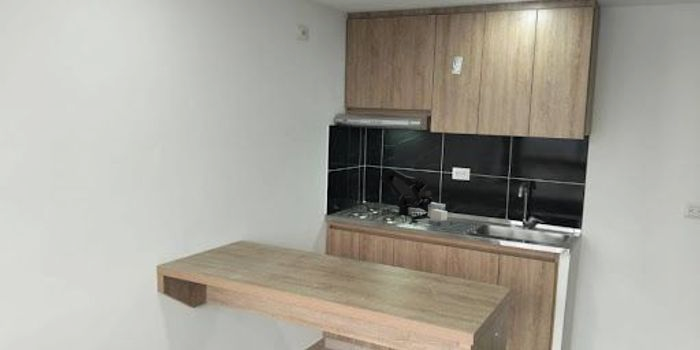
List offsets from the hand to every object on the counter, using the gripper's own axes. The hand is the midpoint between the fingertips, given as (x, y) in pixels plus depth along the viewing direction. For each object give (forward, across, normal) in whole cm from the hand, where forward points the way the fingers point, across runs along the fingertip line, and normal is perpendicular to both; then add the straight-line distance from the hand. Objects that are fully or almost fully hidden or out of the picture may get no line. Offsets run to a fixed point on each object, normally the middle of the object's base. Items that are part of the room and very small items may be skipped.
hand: (427, 211), depth 371 cm
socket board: (+9, 0, +1) cm, 9 cm away
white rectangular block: (+12, 0, -3) cm, 12 cm away
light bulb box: (+1, +17, +10) cm, 20 cm away
